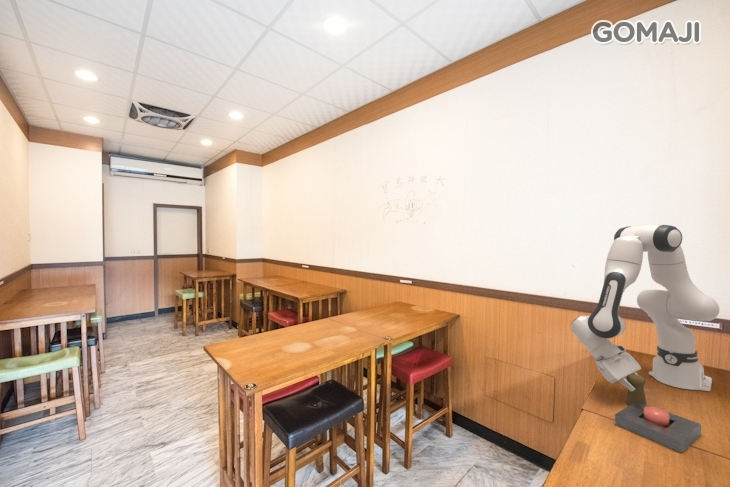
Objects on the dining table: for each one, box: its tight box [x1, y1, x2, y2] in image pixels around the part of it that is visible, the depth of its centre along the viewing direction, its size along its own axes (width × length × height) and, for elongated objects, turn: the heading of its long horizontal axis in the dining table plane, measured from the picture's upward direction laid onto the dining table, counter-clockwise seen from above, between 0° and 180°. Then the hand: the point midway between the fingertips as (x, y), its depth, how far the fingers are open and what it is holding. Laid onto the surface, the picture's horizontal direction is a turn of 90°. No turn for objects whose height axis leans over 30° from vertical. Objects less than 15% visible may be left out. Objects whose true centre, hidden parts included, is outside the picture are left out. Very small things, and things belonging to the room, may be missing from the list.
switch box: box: [614, 401, 702, 454], centre depth 98 cm, size 16×16×4 cm
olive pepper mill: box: [625, 374, 648, 406], centre depth 113 cm, size 6×6×11 cm
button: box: [644, 405, 670, 428], centre depth 98 cm, size 6×6×4 cm
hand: (638, 388), depth 112 cm, fingers open, 5 cm apart
